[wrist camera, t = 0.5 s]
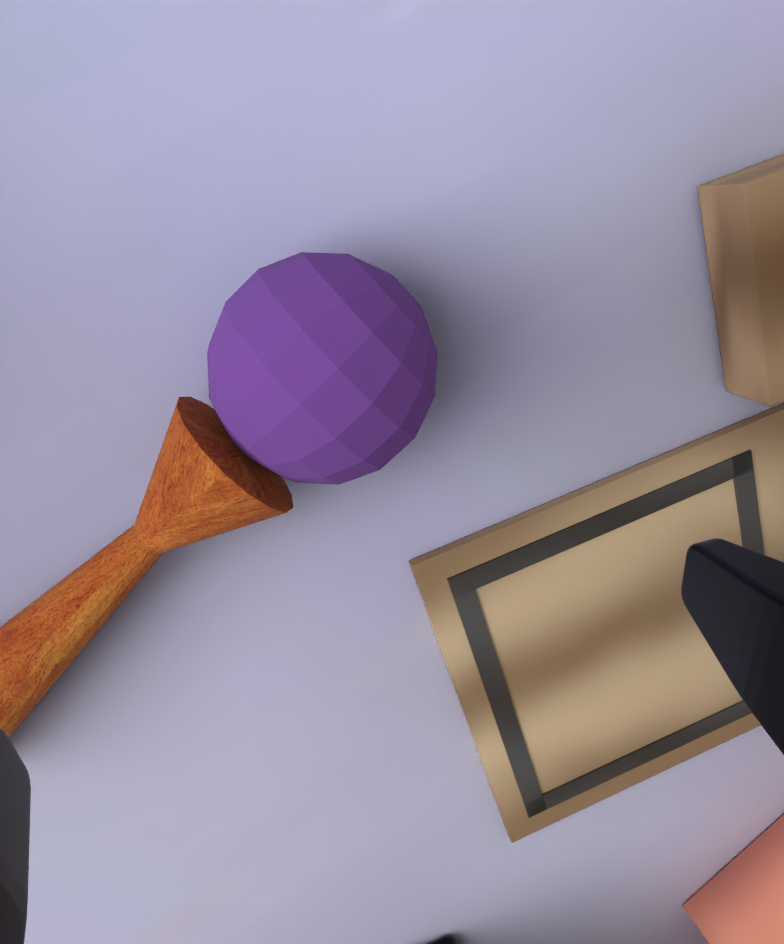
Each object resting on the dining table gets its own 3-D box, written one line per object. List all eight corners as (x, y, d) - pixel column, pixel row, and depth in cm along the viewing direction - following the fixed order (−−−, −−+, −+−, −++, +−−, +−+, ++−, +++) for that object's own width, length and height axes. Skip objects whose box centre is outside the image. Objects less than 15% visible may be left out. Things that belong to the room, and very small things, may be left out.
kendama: (-259, 770, 18) (321, 186, 15) (-110, 650, 24) (329, 212, 21) (-61, 905, 19) (504, 391, 16) (34, 761, 25) (464, 363, 22)
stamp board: (1004, 600, 33) (1015, 606, 32) (508, 835, 30) (512, 844, 30) (1013, 306, 27) (1027, 308, 27) (408, 560, 25) (412, 567, 24)
